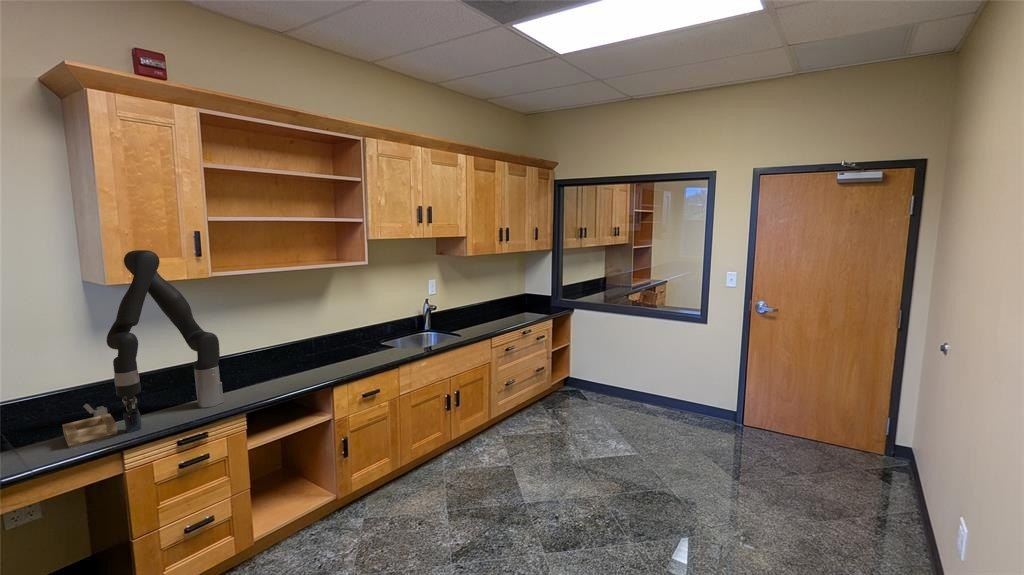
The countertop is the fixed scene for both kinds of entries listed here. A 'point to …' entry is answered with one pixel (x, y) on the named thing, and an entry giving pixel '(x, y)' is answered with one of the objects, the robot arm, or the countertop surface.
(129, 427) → the vaping device
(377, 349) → the countertop surface
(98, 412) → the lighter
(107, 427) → the block
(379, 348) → the countertop surface
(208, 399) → the robot arm
